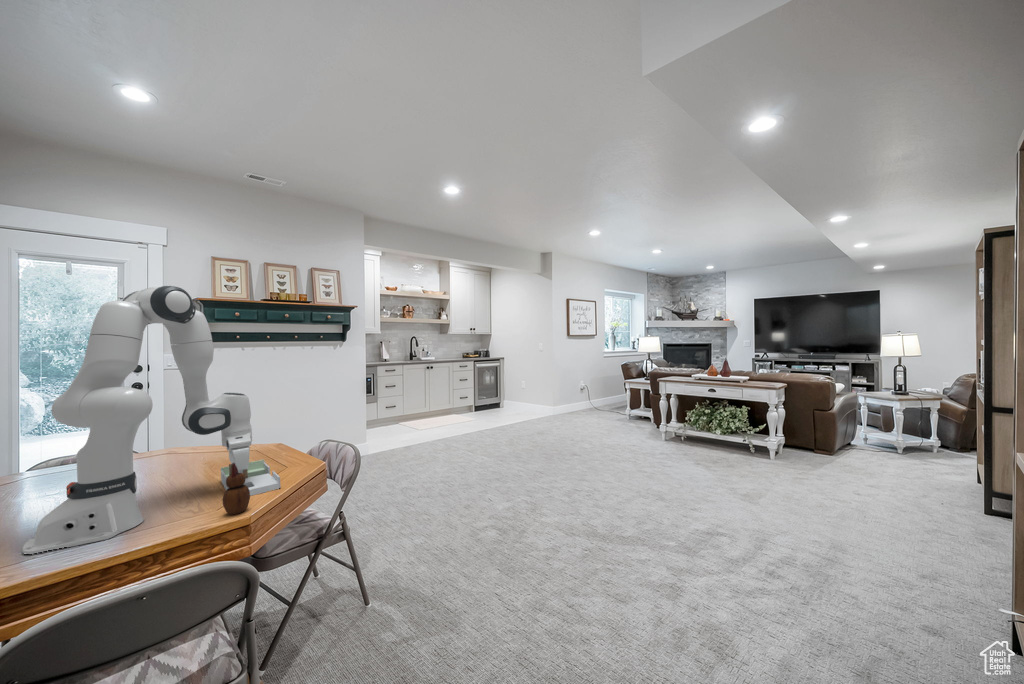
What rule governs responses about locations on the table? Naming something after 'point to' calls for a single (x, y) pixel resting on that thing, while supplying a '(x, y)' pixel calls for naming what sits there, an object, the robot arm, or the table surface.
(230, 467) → the walnut block
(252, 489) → the box
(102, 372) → the robot arm
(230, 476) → the wooden figurine
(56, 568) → the table surface
